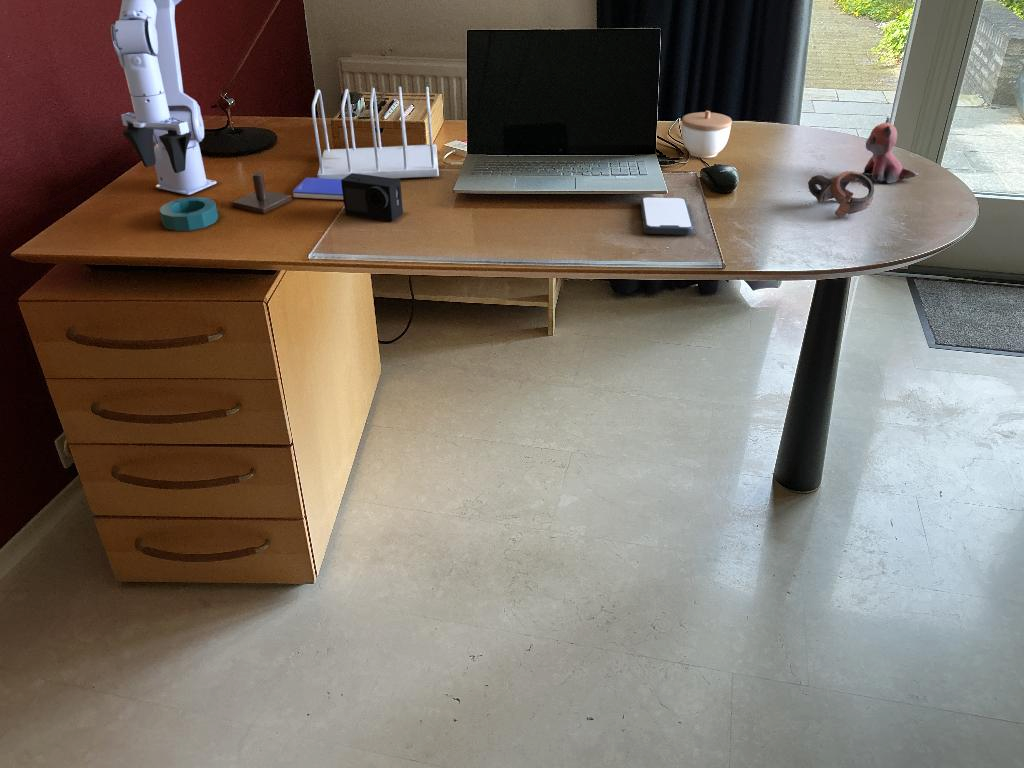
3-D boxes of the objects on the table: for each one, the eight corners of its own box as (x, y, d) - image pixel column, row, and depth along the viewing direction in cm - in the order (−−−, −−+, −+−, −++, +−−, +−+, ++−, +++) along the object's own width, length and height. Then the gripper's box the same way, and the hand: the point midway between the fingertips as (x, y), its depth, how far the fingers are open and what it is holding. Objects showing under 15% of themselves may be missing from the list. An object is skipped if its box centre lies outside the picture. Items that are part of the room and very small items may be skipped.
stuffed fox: (920, 187, 173) (935, 128, 166) (862, 185, 175) (875, 126, 168) (911, 175, 179) (926, 117, 173) (855, 172, 181) (868, 115, 174)
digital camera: (341, 217, 163) (336, 181, 159) (355, 207, 167) (351, 172, 163) (389, 224, 160) (386, 188, 156) (403, 214, 164) (400, 178, 160)
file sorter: (436, 152, 194) (432, 81, 186) (439, 178, 180) (434, 103, 171) (324, 157, 192) (315, 85, 184) (318, 184, 178) (307, 107, 169)
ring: (151, 224, 160) (148, 210, 159) (191, 207, 168) (188, 193, 166) (189, 234, 156) (186, 220, 155) (228, 216, 164) (225, 202, 162)
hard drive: (292, 190, 170) (352, 193, 169) (307, 176, 177) (364, 179, 175) (293, 198, 171) (353, 201, 170) (308, 183, 178) (365, 186, 176)
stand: (232, 206, 168) (227, 177, 164) (261, 193, 174) (256, 164, 170) (263, 213, 164) (258, 183, 161) (291, 200, 170) (287, 170, 167)
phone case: (639, 204, 167) (644, 235, 154) (640, 196, 167) (644, 227, 153) (685, 205, 167) (693, 236, 153) (686, 197, 166) (694, 228, 152)
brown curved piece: (863, 203, 167) (883, 175, 160) (854, 239, 163) (873, 212, 156) (804, 182, 169) (821, 153, 161) (793, 217, 165) (809, 189, 157)
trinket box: (669, 153, 192) (672, 111, 187) (698, 143, 198) (702, 101, 193) (708, 164, 186) (713, 121, 181) (737, 153, 192) (742, 111, 187)
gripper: (100, 93, 151) (120, 169, 158) (159, 102, 145) (177, 180, 152) (132, 85, 156) (149, 158, 164) (190, 93, 151) (206, 169, 158)
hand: (165, 168), depth 158 cm, fingers open, 7 cm apart
